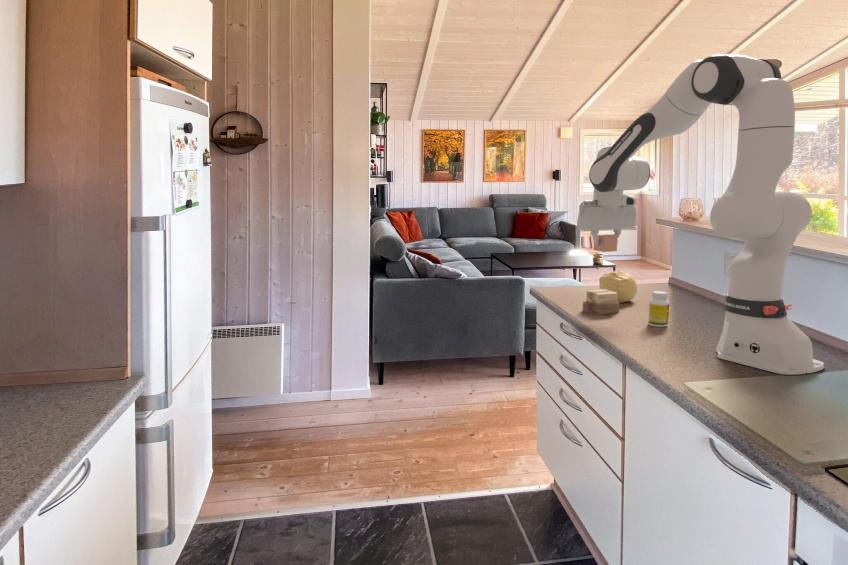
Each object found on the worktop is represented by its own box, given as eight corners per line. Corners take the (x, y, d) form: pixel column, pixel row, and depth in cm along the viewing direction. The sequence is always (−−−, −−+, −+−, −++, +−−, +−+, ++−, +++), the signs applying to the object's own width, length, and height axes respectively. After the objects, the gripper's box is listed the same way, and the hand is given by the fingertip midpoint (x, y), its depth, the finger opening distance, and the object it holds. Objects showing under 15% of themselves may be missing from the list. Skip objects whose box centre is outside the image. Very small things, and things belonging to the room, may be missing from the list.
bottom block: (618, 313, 184) (619, 302, 184) (602, 316, 180) (602, 305, 179) (599, 309, 191) (599, 298, 190) (582, 312, 187) (582, 301, 186)
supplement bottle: (669, 327, 164) (671, 294, 162) (649, 327, 165) (651, 293, 163) (665, 323, 169) (667, 290, 168) (646, 322, 170) (648, 290, 169)
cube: (616, 251, 180) (617, 235, 179) (603, 252, 178) (604, 236, 177) (606, 249, 185) (607, 233, 184) (593, 250, 183) (594, 234, 182)
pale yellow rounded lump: (593, 299, 204) (594, 270, 202) (619, 296, 208) (620, 267, 207) (616, 306, 193) (618, 274, 191) (643, 302, 198) (644, 271, 196)
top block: (617, 303, 182) (618, 293, 181) (597, 305, 180) (598, 294, 180) (605, 299, 189) (605, 289, 188) (586, 301, 187) (586, 290, 186)
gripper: (586, 201, 172) (584, 246, 175) (640, 199, 179) (637, 243, 182) (573, 200, 178) (571, 244, 180) (627, 198, 185) (624, 241, 188)
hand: (605, 244), depth 181 cm, fingers closed on cube, 5 cm apart
